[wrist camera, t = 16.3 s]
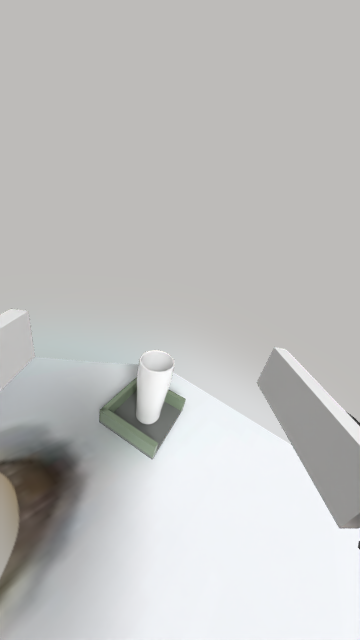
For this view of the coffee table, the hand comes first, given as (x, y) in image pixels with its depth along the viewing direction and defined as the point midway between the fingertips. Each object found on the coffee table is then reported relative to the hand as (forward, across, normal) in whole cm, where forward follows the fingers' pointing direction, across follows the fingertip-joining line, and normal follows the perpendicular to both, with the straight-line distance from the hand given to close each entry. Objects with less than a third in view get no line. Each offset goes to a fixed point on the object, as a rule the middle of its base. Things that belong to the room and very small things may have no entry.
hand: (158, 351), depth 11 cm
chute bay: (+20, +1, -32) cm, 38 cm away
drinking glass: (+20, +2, -32) cm, 38 cm away
